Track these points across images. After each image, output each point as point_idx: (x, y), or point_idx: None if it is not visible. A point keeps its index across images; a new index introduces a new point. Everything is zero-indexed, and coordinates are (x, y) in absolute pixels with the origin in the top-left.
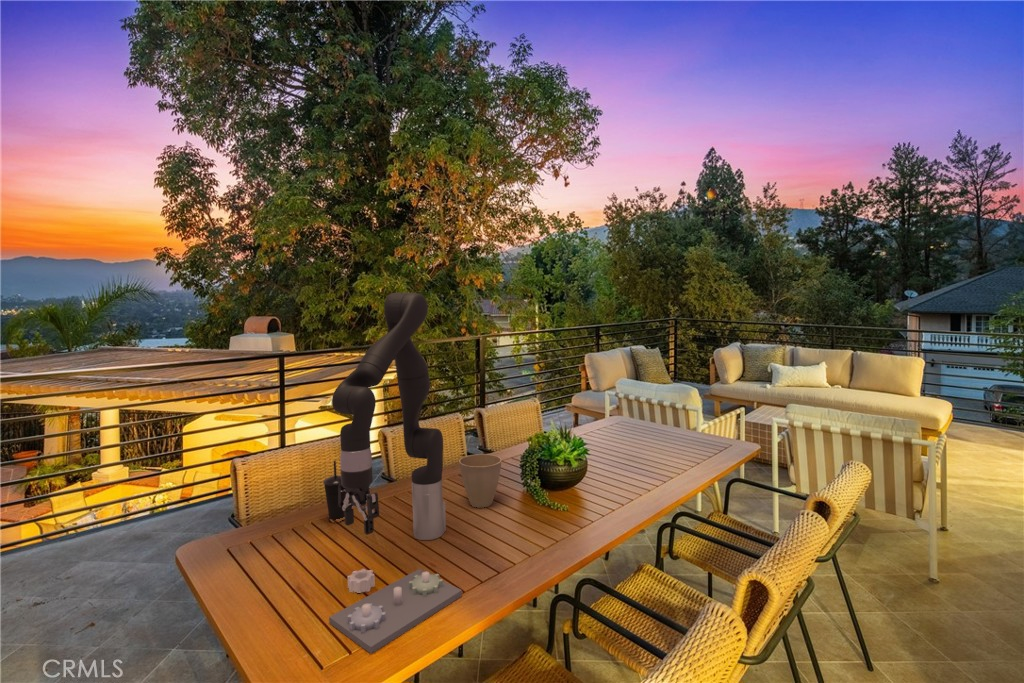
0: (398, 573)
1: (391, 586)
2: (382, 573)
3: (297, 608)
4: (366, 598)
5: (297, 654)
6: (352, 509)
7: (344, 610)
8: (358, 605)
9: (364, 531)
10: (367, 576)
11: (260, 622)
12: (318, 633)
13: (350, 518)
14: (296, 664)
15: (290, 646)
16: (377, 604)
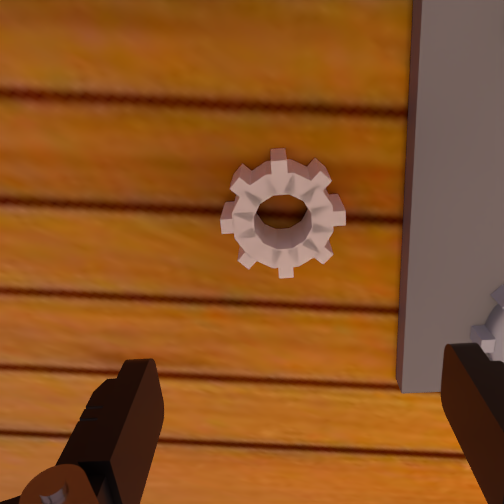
0: (314, 10)
1: (435, 140)
2: (250, 73)
3: (236, 404)
4: (417, 262)
5: (445, 475)
6: (107, 467)
7: (414, 348)
8: (432, 304)
9: (451, 422)
10: (315, 206)
11: (226, 483)
12: (412, 414)
13: (145, 420)
14: (479, 489)
15: (398, 474)
16: (492, 254)
